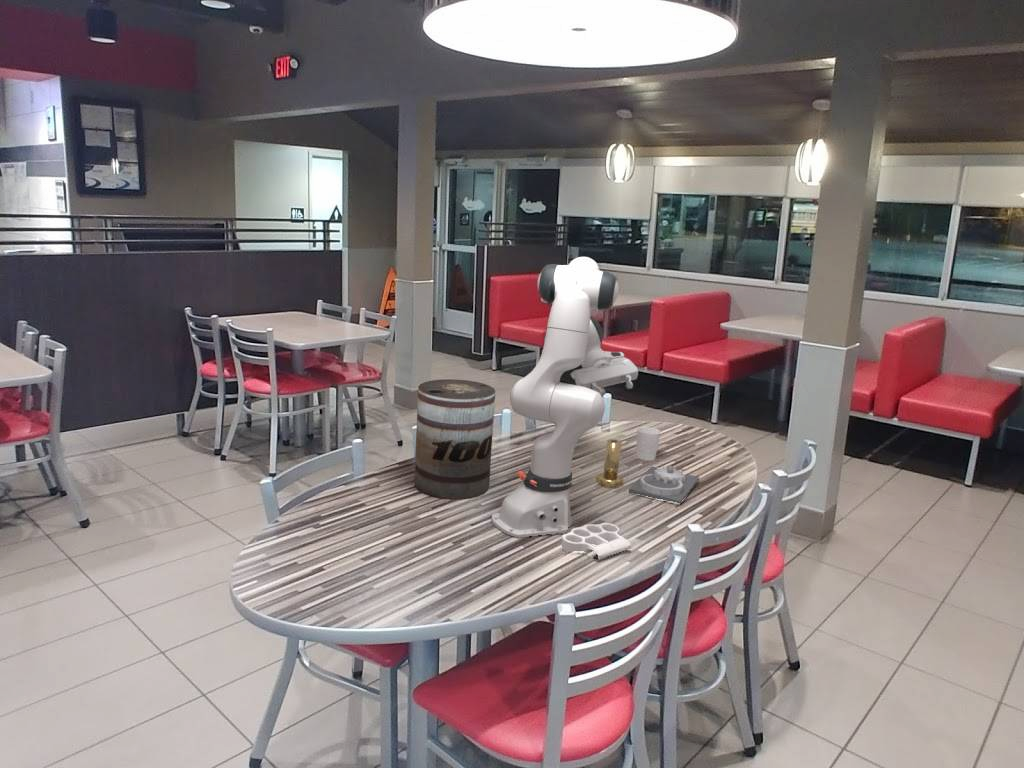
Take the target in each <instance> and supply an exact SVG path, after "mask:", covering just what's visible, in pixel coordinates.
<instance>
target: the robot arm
mask: <svg viewBox="0 0 1024 768" xmlns="http://www.w3.org/2000/svg"><path fill="white" fill-rule="evenodd" d="M617 280H618V278H617V277H616V275H614V273H612V272H610V271H607V270H603V271H602V270H600V267H599V264H598V263H597V262H596V261H595V260H594V259H592V258H590V257H589V256H579V257H576V258H574V259H572V260H571V261H570V262H569V263H568V264H563V265H562V264H558V263H552V264H546V265H545V266H544V267H542V268H541V271H540V273H539V275H538V278H537V290H538V295H539V297H540V298H541V299H542V301H544V302H546V303H547V306H551V305H552V306H551V308H550V312H549V316H548V319H547V327H546V332H545V335H544V340H543V341H544V344H543V349H542V353H541V354H540V355H541V356H540V357H539V360H538V362H537V363H536V365H535V366H534V368H533V369H532V370H531V372H529V373H528V374H526V376H524V377H522V378H521V379H518V380H517V382H516V383H514V385H513V387H512V388H511V391H510V395H509V401H510V402H509V403H510V405H511V406H510V407H511V408H512V410H513V411H514V413H515V414H517V415H520V416H522V417H525V418H528V419H529V420H535V421H540V422H546V423H551V424H554V431H552V432H548V433H545V434H543V435H541V436H538V437H537V438H536V439H535V440H534V441H533V443H532V445H531V456H530V457H531V459H530V468H529V469H528V470H527V471H528V472H527V473H525V472H523V471H522V470H519V471H518V472H517V473H516V476H517V478H518V479H520V480H522V481H523V483H521V484H520V485H519V486H518V487H517V488H516V489H514V490H513V491H512V492H511V493H509V494H508V495H507V496H506V497H504V498H503V501H502V502H501V503H502V504H501V507H500V512H496V513H493V514H491V522H492V524H493V525H494V527H496V528H497V529H498V530H500V531H501V532H503V533H504V534H506V535H509V536H510V535H511V537H513V536H514V537H513V538H517V537H521V538H530V537H529V536H532V537H539V536H538V535H542V536H547V535H546V534H552V535H557V534H556V533H563V534H566V533H565V532H569V528H570V526H572V524H573V518H572V512H571V498H570V493H571V491H570V490H571V487H572V482H573V472H572V467H573V466H572V464H573V460H574V459H573V458H574V453H575V449H576V446H577V443H578V441H579V440H580V439H581V437H582V436H583V435H584V434H585V433H586V432H587V431H589V430H591V429H594V427H596V426H597V425H599V423H600V422H601V421H602V420H603V417H604V414H605V410H606V408H605V407H606V406H605V404H606V403H605V401H604V398H603V396H605V395H606V390H605V389H604V388H605V387H609V386H615V385H617V384H618V385H619V384H623V383H626V384H625V387H626V388H627V389H628V390H630V389H633V387H634V383H633V382H632V381H634V380H637V379H638V376H639V369H638V367H637V366H636V365H635V363H633V362H632V360H631V359H629V358H627V357H625V353H623V352H622V351H605V350H603V349H602V348H601V347H602V346H601V345H602V344H603V340H604V331H603V328H602V326H601V325H600V323H599V321H598V319H597V318H595V317H594V316H593V315H591V312H592V311H593V310H594V309H597V310H598V311H602V310H603V311H604V310H609V309H611V308H612V307H613V306H614V304H615V302H616V301H617V298H618V295H619V289H620V288H619V283H618V281H617ZM580 366H581V367H582V368H579V369H578V367H580ZM576 368H577V369H576ZM571 370H572V372H571V373H570V377H571V378H572V379H573V380H574V381H575V384H572V383H565V382H561V377H562V375H563V374H564V373H565V372H567V371H571ZM568 527H569V528H568Z"/></svg>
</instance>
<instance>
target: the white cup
mask: <svg viewBox="0 0 1024 768" xmlns="http://www.w3.org/2000/svg"><path fill="white" fill-rule="evenodd" d="M636 433H637V434H636V445H635V447H636V448H635V449H636V453H635V454H636V455H635V457H636V458H637V459H638V458H639V459H638V460H640V461H646V462H647V461H648V462H652V461H655V460H656V457H657V452H658V448H659V444H660V436H661V430H659V429H657V428H653V427H649V426H641V427H638V428H637V431H636Z"/></svg>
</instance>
